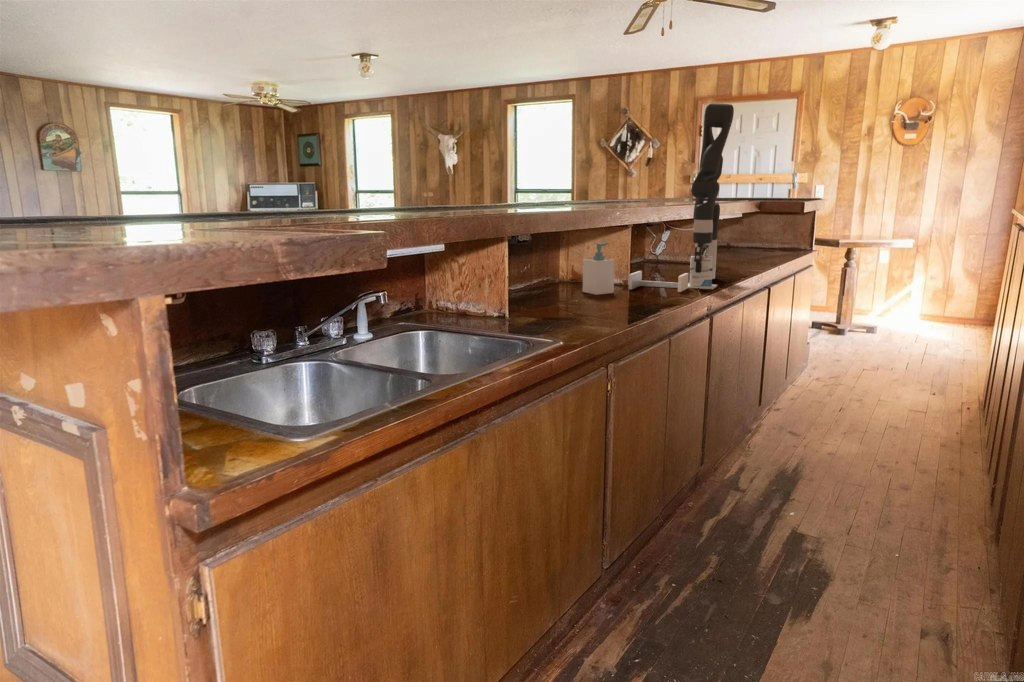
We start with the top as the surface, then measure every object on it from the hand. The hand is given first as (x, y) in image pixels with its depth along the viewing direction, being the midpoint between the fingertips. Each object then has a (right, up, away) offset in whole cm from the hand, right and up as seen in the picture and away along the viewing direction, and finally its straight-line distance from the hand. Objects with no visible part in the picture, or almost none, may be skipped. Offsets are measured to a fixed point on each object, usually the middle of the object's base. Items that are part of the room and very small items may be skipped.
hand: (700, 271), depth 278 cm
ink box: (0, -6, +2) cm, 6 cm away
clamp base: (-19, -7, -3) cm, 20 cm away
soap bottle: (-43, -10, -13) cm, 46 cm away
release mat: (0, -6, +1) cm, 6 cm away
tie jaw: (-9, -8, -9) cm, 16 cm away
